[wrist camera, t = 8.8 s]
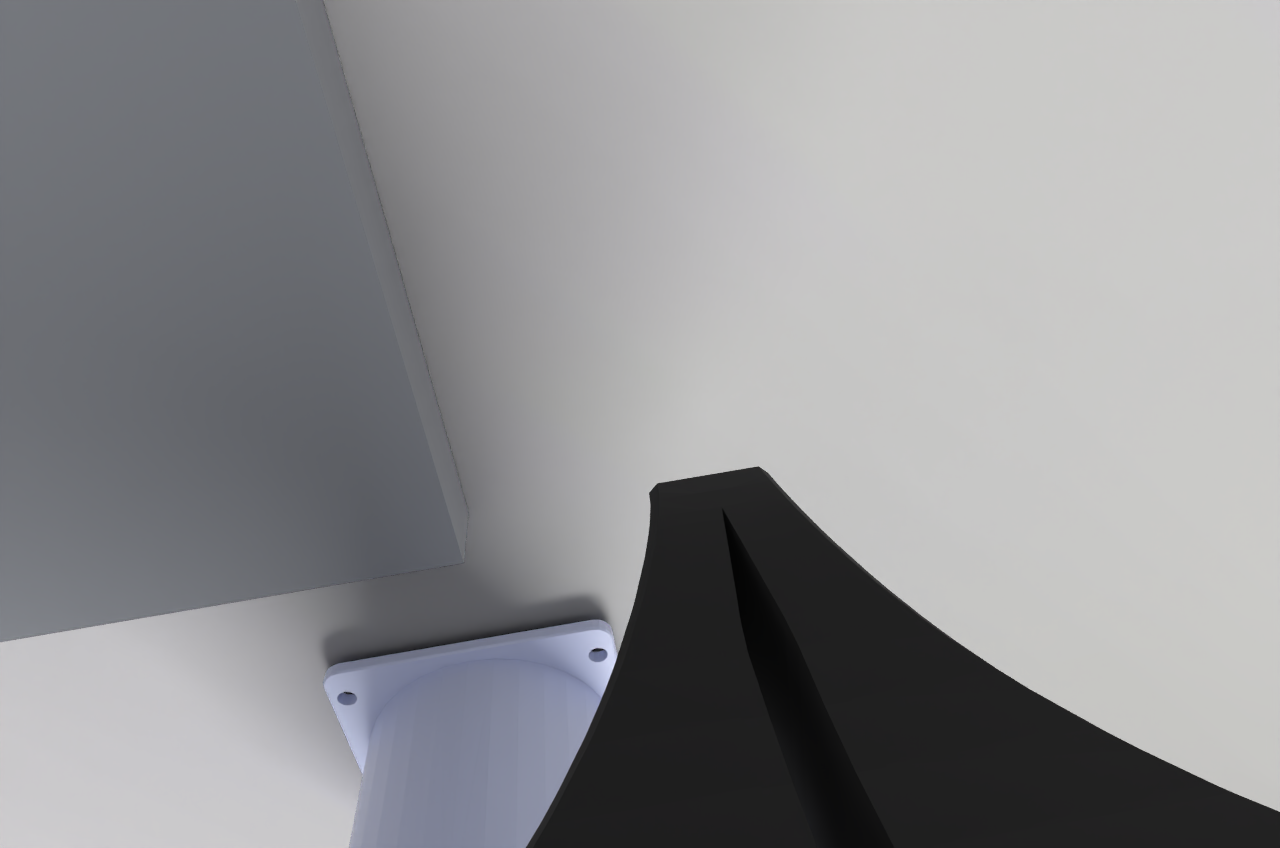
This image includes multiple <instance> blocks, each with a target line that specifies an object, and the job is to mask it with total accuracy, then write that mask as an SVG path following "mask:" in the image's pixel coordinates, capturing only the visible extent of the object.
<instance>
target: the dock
mask: <svg viewBox="0 0 1280 848" xmlns="http://www.w3.org/2000/svg"><path fill="white" fill-rule="evenodd" d="M468 518H469V512H468V508H467V505H466V501H465V498H464V494H463V491H462V487H461V484H460V480H459V476H458V473H457V469H456V466H455V462H454V459H453V455H452V452H451V448H450V445H449V441H448V438H447V434H446V431H445V427H444V424H443V420H442V417H441V413H440V410H439V406H438V403H437V399H436V396H435V392H434V389H433V385H432V382H431V378H430V375H429V371H428V368H427V364H426V361H425V357H424V354H423V350H422V347H421V343H420V340H419V336H418V333H417V329H416V325H415V322H414V318H413V315H412V311H411V308H410V304H409V301H408V297H407V294H406V290H405V287H404V283H403V280H402V276H401V273H400V269H399V266H398V262H397V259H396V255H395V252H394V248H393V245H392V241H391V238H390V234H389V231H388V227H387V224H386V220H385V217H384V213H383V210H382V206H381V203H380V199H379V196H378V192H377V189H376V185H375V182H374V178H373V174H372V171H371V167H370V164H369V160H368V157H367V153H366V150H365V146H364V143H363V139H362V136H361V132H360V129H359V125H358V122H357V118H356V115H355V111H354V108H353V104H352V101H351V97H350V94H349V90H348V87H347V83H346V80H345V76H344V73H343V69H342V66H341V62H340V59H339V55H338V52H337V48H336V45H335V41H334V38H333V34H332V31H331V27H330V23H329V20H328V16H327V13H326V9H325V6H324V2H323V0H0V642H4V641H10V640H16V639H22V638H28V637H34V636H40V635H45V634H51V633H57V632H63V631H69V630H75V629H81V628H86V627H92V626H98V625H104V624H110V623H116V622H122V621H128V620H133V619H139V618H145V617H151V616H157V615H163V614H169V613H174V612H180V611H186V610H192V609H198V608H204V607H210V606H216V605H221V604H227V603H233V602H239V601H245V600H251V599H257V598H262V597H268V596H274V595H280V594H286V593H292V592H298V591H304V590H309V589H315V588H321V587H327V586H333V585H339V584H345V583H350V582H356V581H362V580H368V579H374V578H380V577H386V576H392V575H397V574H403V573H409V572H415V571H421V570H427V569H433V568H438V567H444V566H450V565H456V564H462V563H464V557H465V547H466V538H467V528H468Z"/></svg>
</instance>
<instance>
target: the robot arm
mask: <svg viewBox="0 0 1280 848" xmlns="http://www.w3.org/2000/svg"><path fill="white" fill-rule="evenodd" d="M649 495H650V504H651V510H650V527H649V536H648V542H647V548H646V554H645V560H644V564H643V568H642V573H641V577H640V581H639V585H638V590H637V594H636V598H635V602H634V606H633V609H632V613H631V616H630V619H629V622H628V625H627V628H626V631H625V635H624V638H623V641H622V644H621V647H620V650H619V653H618V656H617V651H616V646H615V641H614V636H613V631H612V628H611V626H610V625H609V624H608V623H606V622H605V621H602V620H588V621H582V622H576V623H570V624H564V625H559V626H553V627H547V628H541V629H535V630H530V631H524V632H518V633H512V634H506V635H501V636H495V637H489V638H483V639H477V640H472V641H466V642H460V643H454V644H448V645H443V646H437V647H431V648H425V649H419V650H414V651H408V652H402V653H396V654H390V655H385V656H379V657H373V658H367V659H361V660H356V661H350V662H344V663H338V664H335V665H332V666H331V667H330V668H329V669H327V671H326V674H325V677H324V681H323V686H324V689H325V691H326V694H327V696H328V698H329V701H330V703H331V705H332V707H333V710H334V712H335V714H336V716H337V719H338V721H339V723H340V725H341V728H342V730H343V732H344V734H345V737H346V739H347V741H348V743H349V746H350V748H351V750H352V752H353V755H354V757H355V759H356V762H357V764H358V766H359V768H360V771H361V773H362V775H363V777H362V782H361V787H360V792H359V797H358V803H357V808H356V813H355V818H354V823H353V829H352V834H351V839H350V844H349V848H1280V812H1279V811H1276V810H1274V809H1271V808H1269V807H1266V806H1264V805H1261V804H1259V803H1257V802H1254V801H1252V800H1249V799H1247V798H1244V797H1242V796H1239V795H1237V794H1235V793H1232V792H1230V791H1228V790H1226V789H1223V788H1221V787H1219V786H1217V785H1214V784H1212V783H1210V782H1208V781H1206V780H1204V779H1202V778H1200V777H1197V776H1195V775H1193V774H1191V773H1189V772H1187V771H1185V770H1183V769H1181V768H1178V767H1176V766H1174V765H1172V764H1170V763H1168V762H1166V761H1164V760H1162V759H1159V758H1157V757H1155V756H1153V755H1151V754H1149V753H1147V752H1145V751H1143V750H1141V749H1139V748H1137V747H1135V746H1133V745H1131V744H1129V743H1127V742H1125V741H1123V740H1121V739H1119V738H1117V737H1115V736H1113V735H1111V734H1109V733H1107V732H1106V731H1104V730H1102V729H1100V728H1098V727H1097V726H1095V725H1093V724H1091V723H1089V722H1088V721H1086V720H1084V719H1082V718H1080V717H1079V716H1077V715H1075V714H1073V713H1071V712H1070V711H1068V710H1066V709H1064V708H1062V707H1061V706H1059V705H1057V704H1055V703H1053V702H1052V701H1050V700H1048V699H1046V698H1044V697H1043V696H1041V695H1039V694H1037V693H1035V692H1034V691H1032V690H1030V689H1028V688H1027V687H1025V686H1023V685H1022V684H1020V683H1019V682H1017V681H1015V680H1014V679H1012V678H1011V677H1009V676H1007V675H1006V674H1004V673H1003V672H1001V671H999V670H998V669H996V668H995V667H993V666H992V665H990V664H989V663H987V662H986V661H984V660H983V659H981V658H980V657H978V656H977V655H975V654H974V653H972V652H971V651H969V650H968V649H966V648H965V647H964V646H962V645H961V644H959V643H958V642H956V641H955V640H954V639H952V638H951V637H949V636H948V635H947V634H945V633H944V632H942V631H941V630H940V629H938V628H937V627H936V626H934V625H933V624H932V623H930V622H929V621H928V620H926V619H925V618H924V617H922V616H921V615H920V614H918V613H917V612H916V611H915V610H913V609H912V608H911V607H910V606H908V605H907V604H906V603H905V602H903V601H902V600H901V599H900V598H898V597H897V596H896V595H895V594H893V593H892V592H891V591H890V590H888V589H887V588H886V587H885V586H884V585H882V584H881V583H880V582H879V581H878V580H876V579H875V578H874V577H873V576H872V575H871V574H869V573H868V572H867V571H866V570H865V569H864V568H863V567H862V566H860V565H859V564H858V563H857V562H856V561H855V560H854V559H853V558H852V557H850V556H849V555H848V554H847V553H846V552H845V551H844V550H843V549H842V548H841V547H839V546H838V545H837V544H836V543H835V542H834V541H833V540H832V539H831V538H830V537H829V536H828V535H827V534H826V533H824V532H823V531H822V530H821V529H820V528H819V527H818V526H817V525H816V524H815V523H814V522H813V521H812V520H811V519H810V518H809V517H808V516H807V515H806V514H805V513H804V512H803V511H802V510H801V509H800V508H799V507H798V505H797V504H796V503H795V502H794V501H793V500H792V499H791V498H790V497H789V496H788V495H787V494H786V493H785V492H784V491H783V489H782V488H781V487H780V486H779V485H778V484H777V483H776V482H775V481H774V479H773V478H772V477H771V476H770V475H769V474H768V473H767V472H766V471H764V470H763V469H762V468H760V467H753V468H747V469H741V470H735V471H729V472H723V473H717V474H711V475H705V476H699V477H693V478H687V479H681V480H675V481H669V482H663V483H658V484H657V485H656V486H655V487H654V488H653V489H652V490H651V492H650V493H649ZM596 648H602V649H604V650H602V651H600V652H593V651H591V650H593V649H596ZM343 692H351V693H353V694H345V693H343Z"/></svg>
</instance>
